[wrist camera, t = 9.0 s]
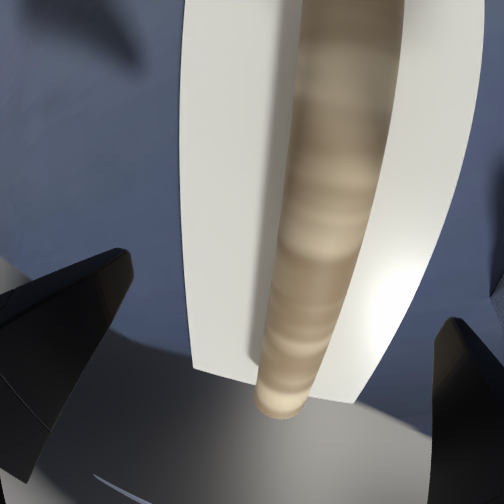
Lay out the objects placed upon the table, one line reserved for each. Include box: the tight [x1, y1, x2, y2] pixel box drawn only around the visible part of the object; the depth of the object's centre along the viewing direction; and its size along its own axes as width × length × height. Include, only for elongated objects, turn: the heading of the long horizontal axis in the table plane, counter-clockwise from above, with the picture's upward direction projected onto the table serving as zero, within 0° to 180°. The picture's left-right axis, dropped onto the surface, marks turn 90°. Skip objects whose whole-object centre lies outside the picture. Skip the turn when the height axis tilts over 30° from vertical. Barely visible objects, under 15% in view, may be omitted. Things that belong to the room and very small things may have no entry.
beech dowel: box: [254, 0, 405, 419], centre depth 11 cm, size 22×3×3 cm, turn 176°
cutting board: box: [179, 0, 484, 404], centre depth 13 cm, size 25×11×1 cm, turn 176°
